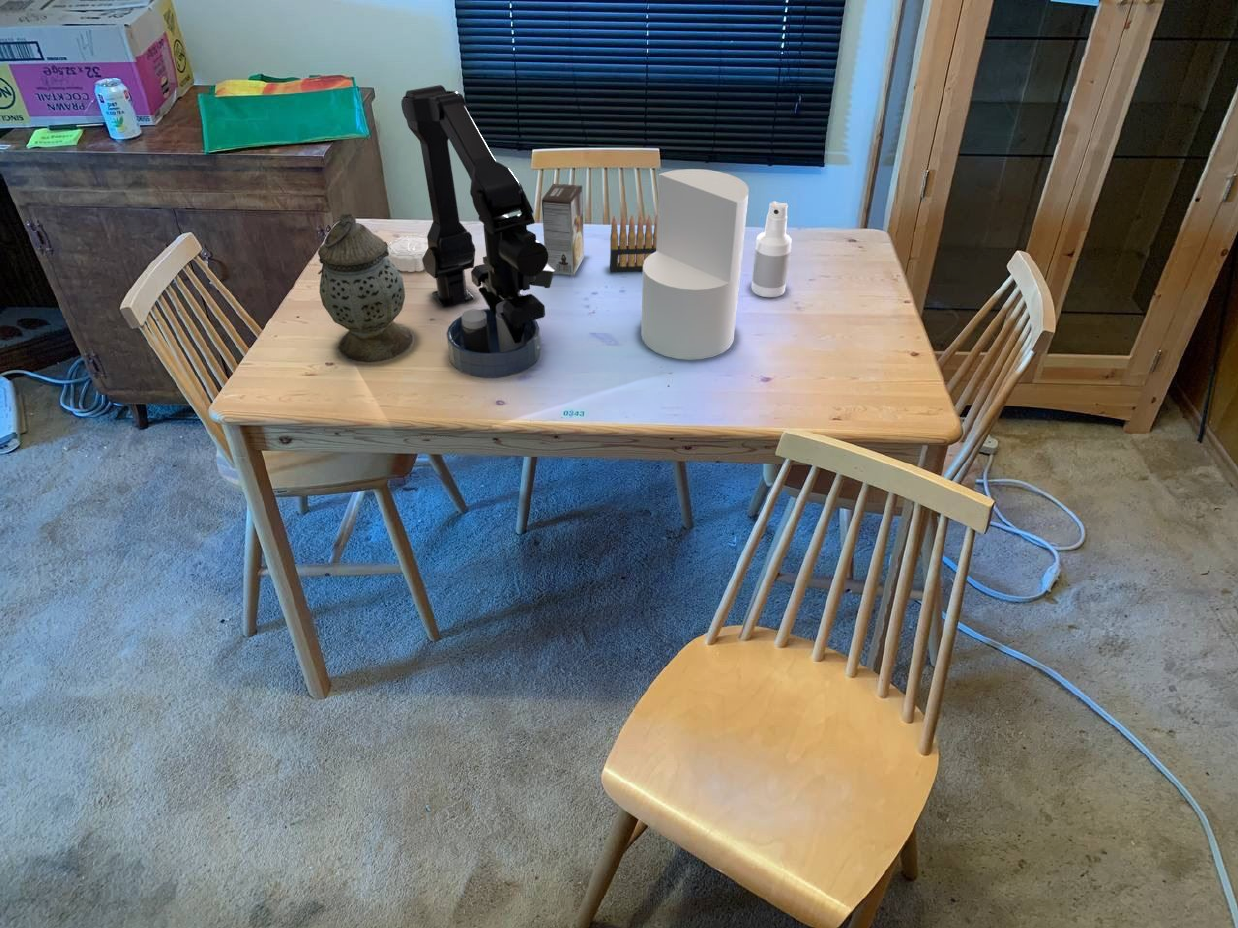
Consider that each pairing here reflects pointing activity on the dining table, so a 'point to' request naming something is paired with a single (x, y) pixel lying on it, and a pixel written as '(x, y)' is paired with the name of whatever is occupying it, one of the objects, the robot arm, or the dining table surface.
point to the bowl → (493, 351)
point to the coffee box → (563, 227)
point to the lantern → (363, 292)
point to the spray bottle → (772, 254)
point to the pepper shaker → (476, 331)
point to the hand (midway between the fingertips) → (510, 334)
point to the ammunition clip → (631, 245)
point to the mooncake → (408, 252)
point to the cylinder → (694, 264)
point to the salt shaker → (505, 332)
